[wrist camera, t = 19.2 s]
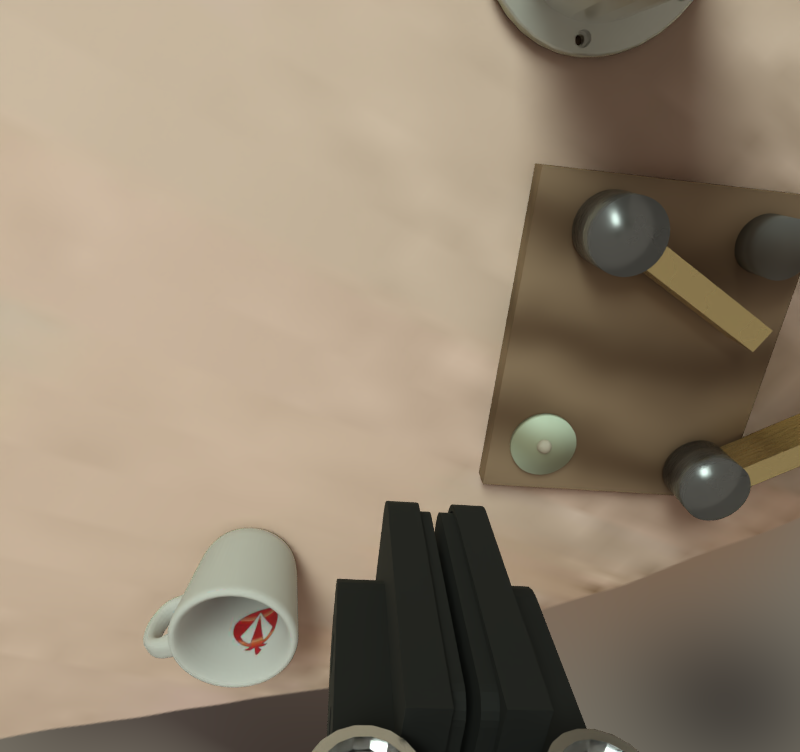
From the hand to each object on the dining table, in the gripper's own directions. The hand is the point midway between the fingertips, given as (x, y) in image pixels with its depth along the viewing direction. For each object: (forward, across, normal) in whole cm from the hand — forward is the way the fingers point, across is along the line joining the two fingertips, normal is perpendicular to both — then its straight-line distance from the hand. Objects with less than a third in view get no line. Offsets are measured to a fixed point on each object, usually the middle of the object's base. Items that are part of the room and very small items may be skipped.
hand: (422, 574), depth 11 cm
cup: (+29, +8, +24) cm, 39 cm away
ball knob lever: (+27, -17, -1) cm, 32 cm away
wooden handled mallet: (+27, -27, +10) cm, 40 cm away
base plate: (+29, -18, +4) cm, 34 cm away
